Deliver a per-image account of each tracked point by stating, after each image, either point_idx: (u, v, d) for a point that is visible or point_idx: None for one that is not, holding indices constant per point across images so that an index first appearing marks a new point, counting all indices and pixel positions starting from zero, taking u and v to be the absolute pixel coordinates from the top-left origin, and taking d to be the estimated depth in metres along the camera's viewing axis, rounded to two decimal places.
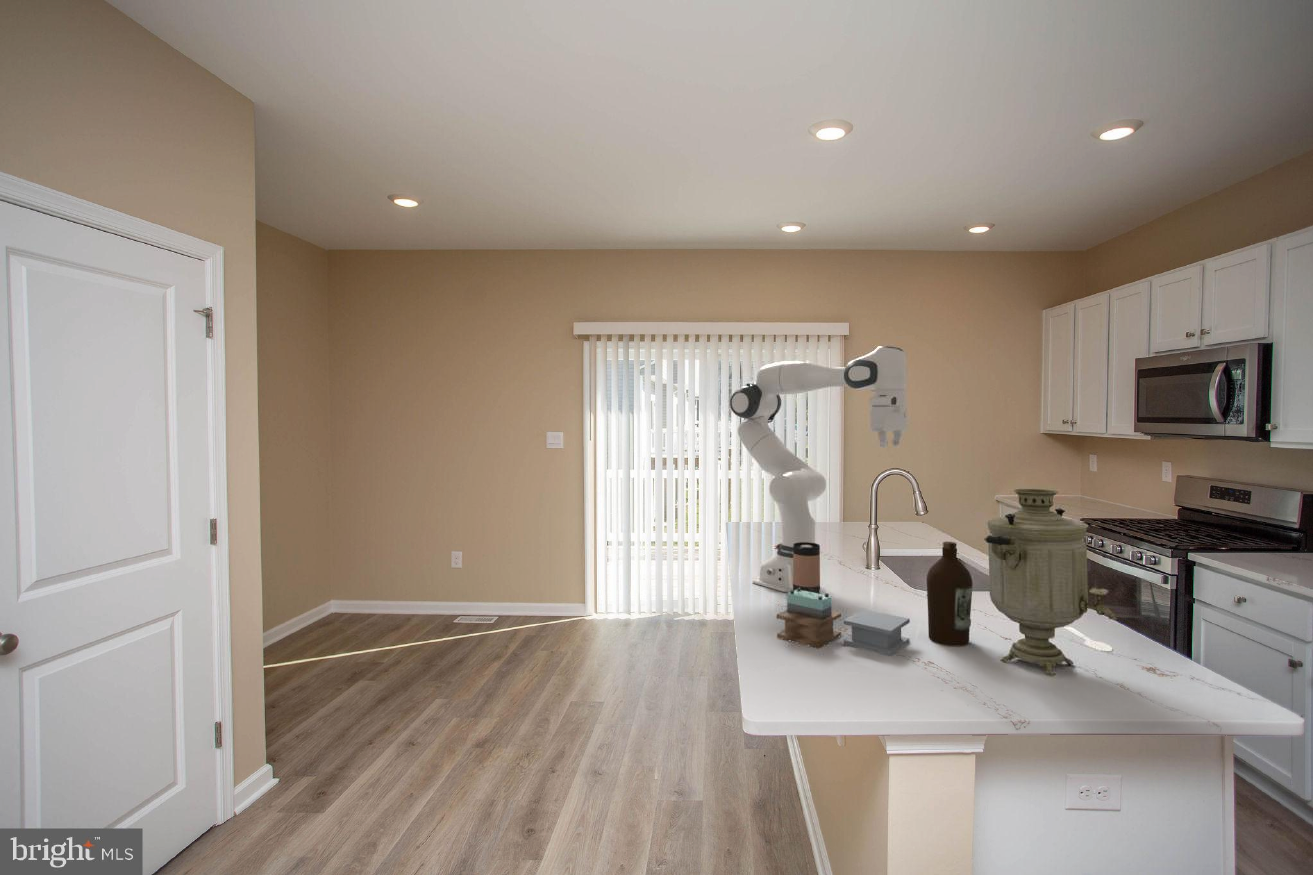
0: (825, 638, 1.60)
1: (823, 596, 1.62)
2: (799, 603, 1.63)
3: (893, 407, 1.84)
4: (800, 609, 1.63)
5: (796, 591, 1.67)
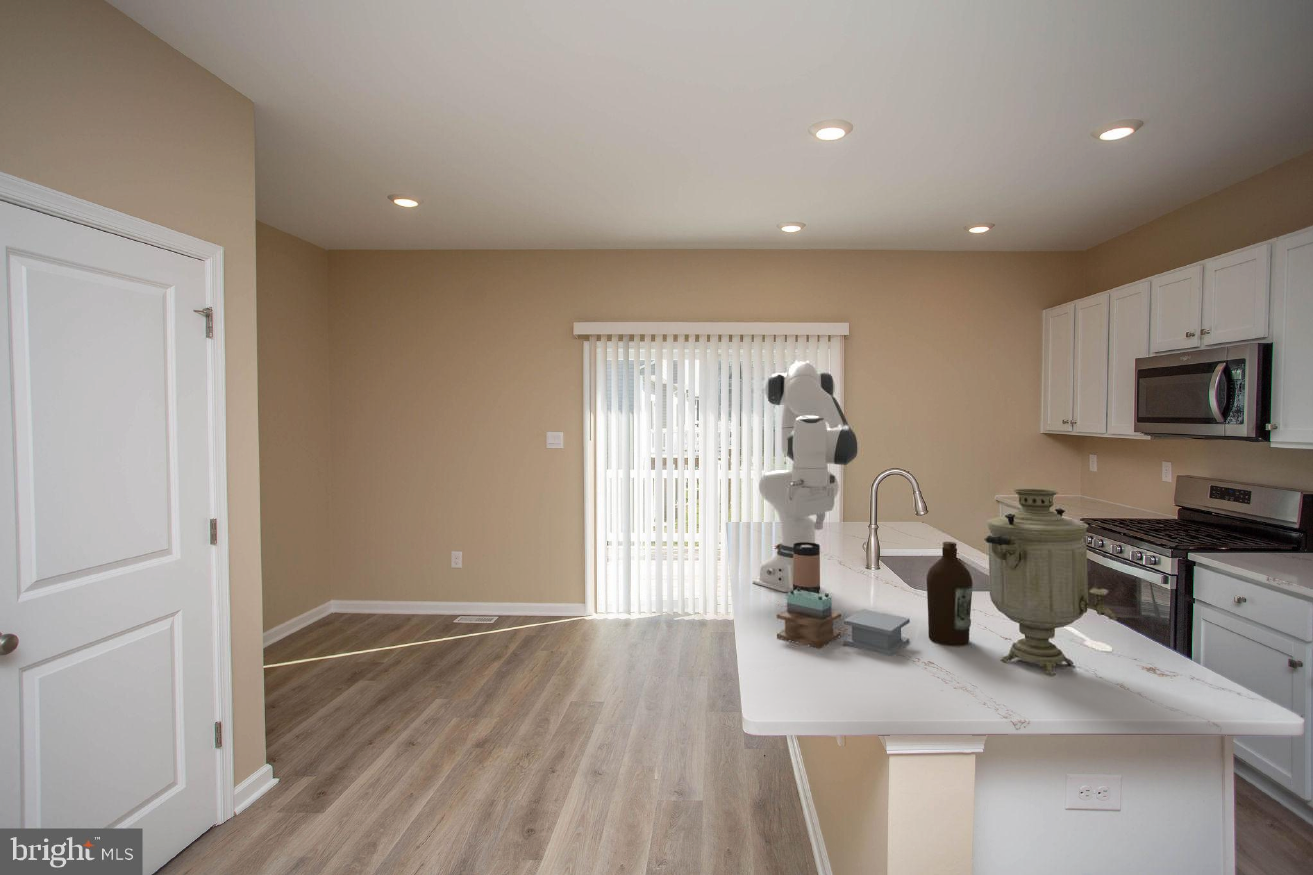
0: (825, 638, 1.60)
1: (823, 596, 1.62)
2: (799, 603, 1.63)
3: None
4: (800, 609, 1.63)
5: (796, 591, 1.67)
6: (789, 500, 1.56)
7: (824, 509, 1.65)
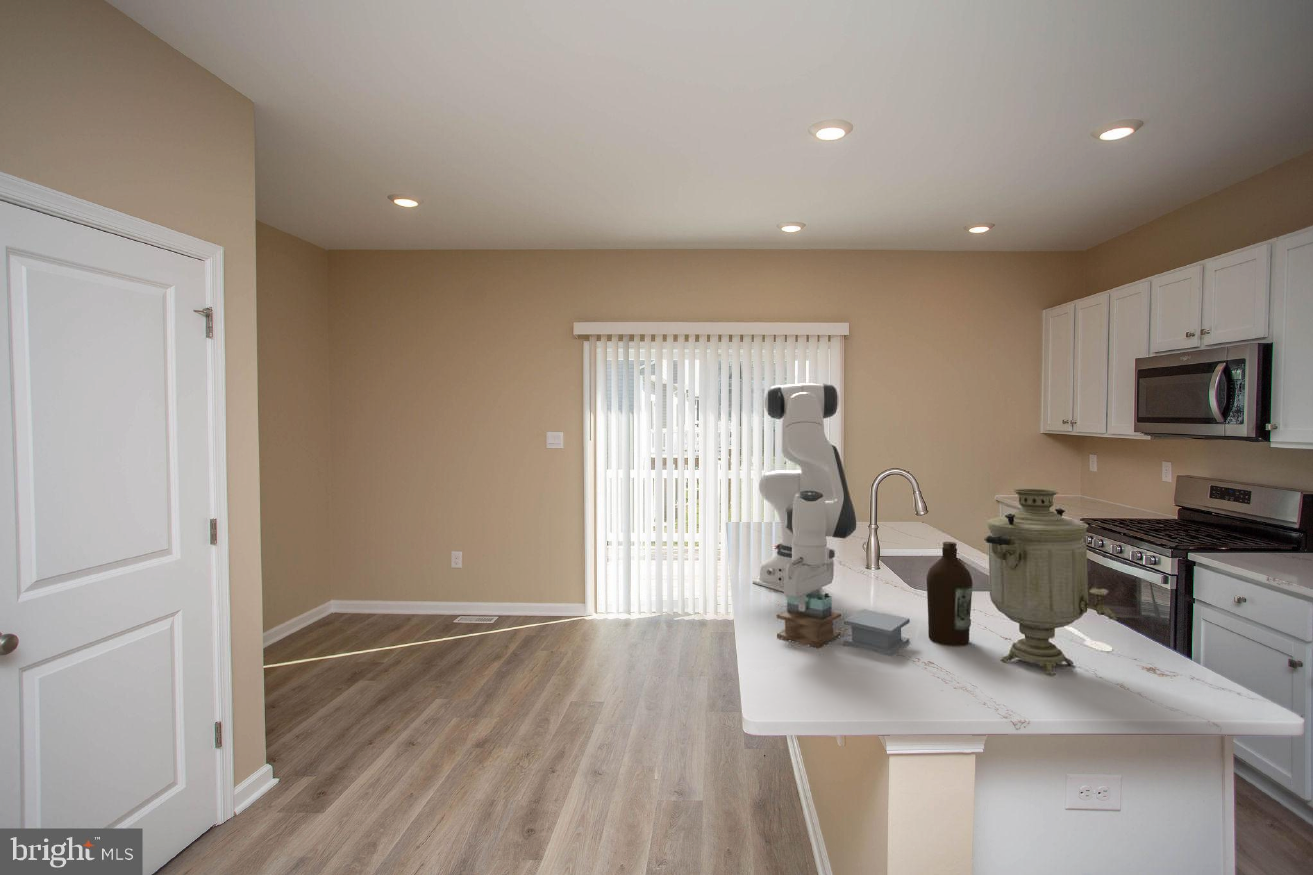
0: (825, 638, 1.60)
1: (823, 596, 1.62)
2: None
3: None
4: None
5: None
6: (788, 579, 1.56)
7: (823, 584, 1.66)
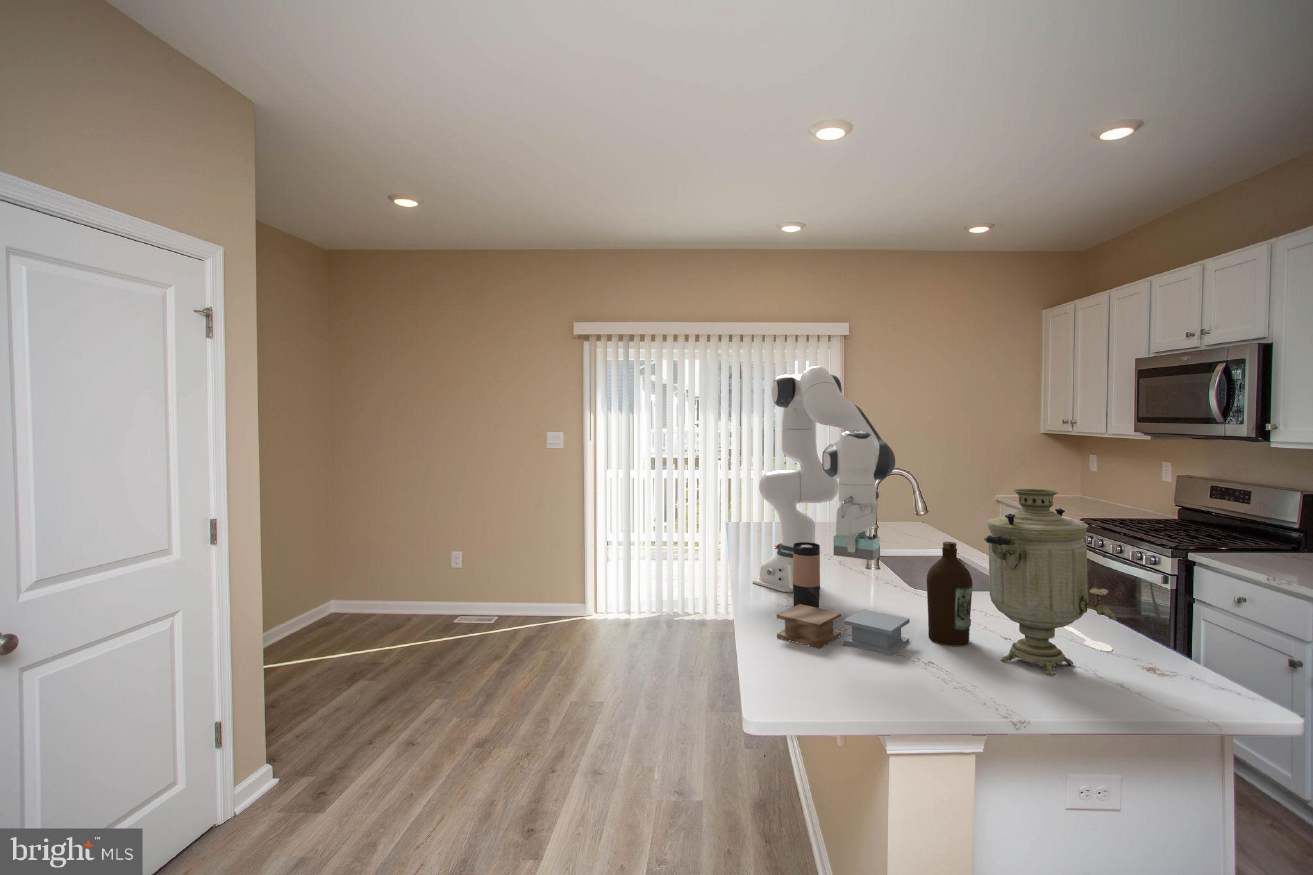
0: (825, 638, 1.60)
1: (871, 537, 1.58)
2: (847, 545, 1.58)
3: None
4: None
5: None
6: (841, 518, 1.52)
7: (869, 526, 1.62)
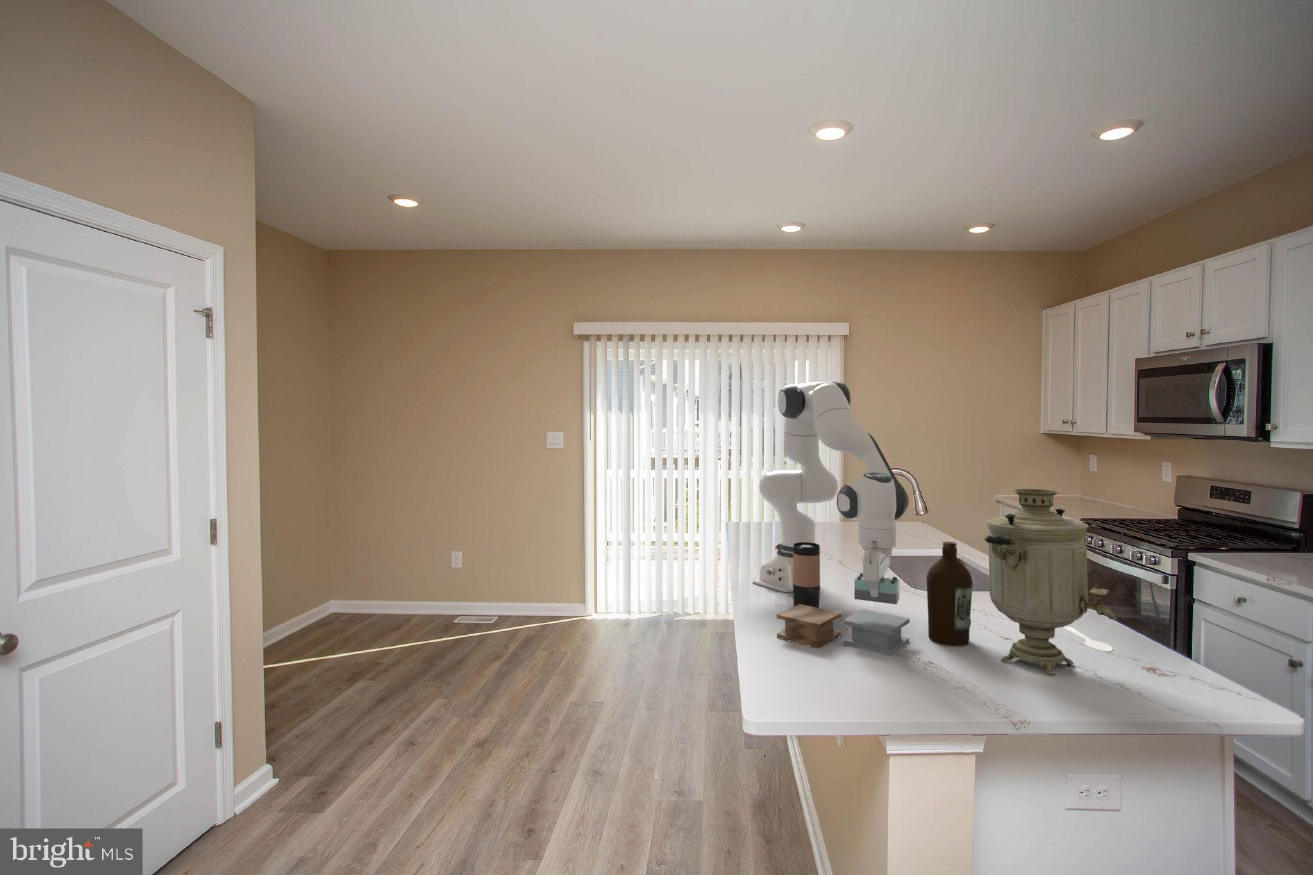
0: (825, 638, 1.60)
1: (892, 580, 1.58)
2: (869, 589, 1.57)
3: None
4: (870, 595, 1.57)
5: (861, 577, 1.61)
6: (868, 564, 1.50)
7: (887, 567, 1.62)
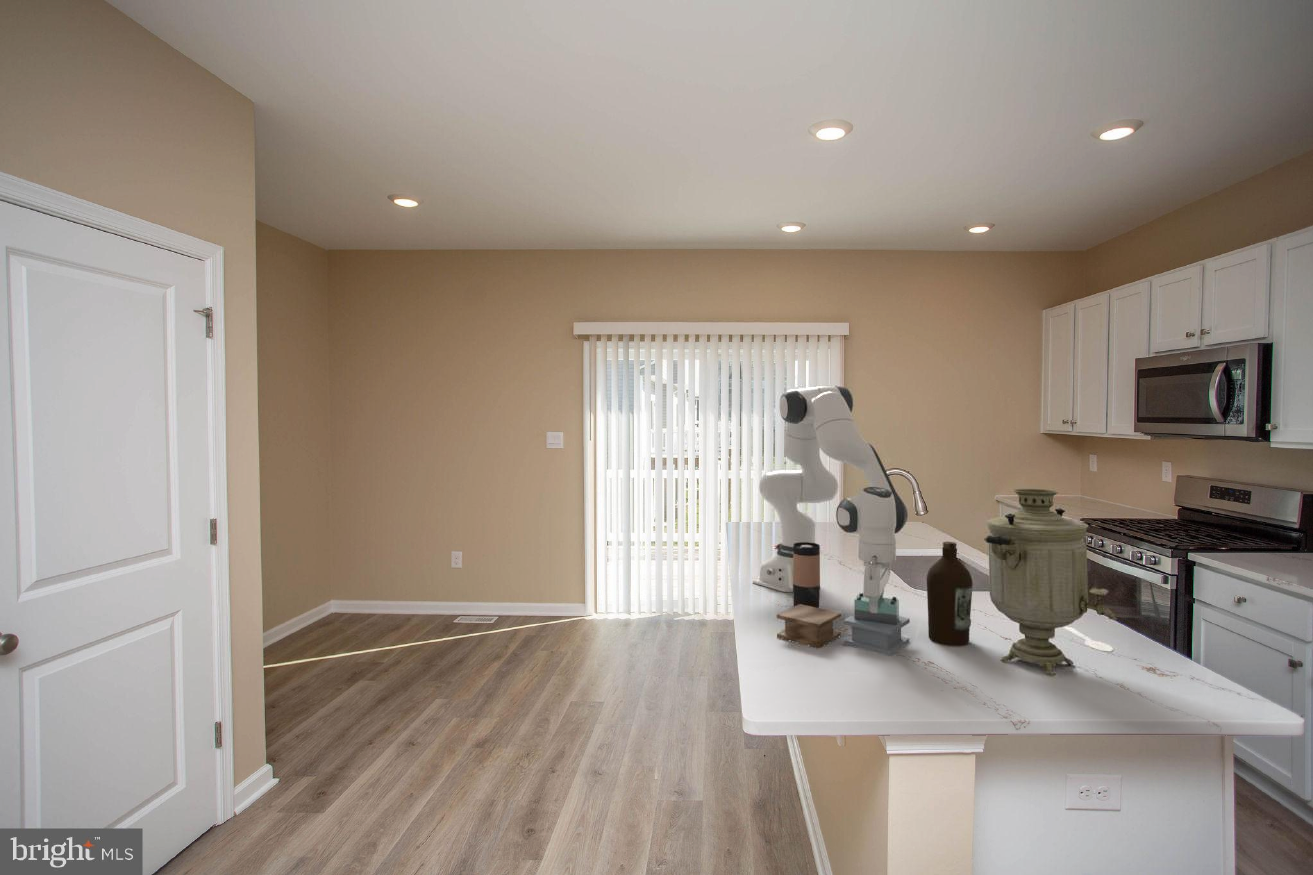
0: (825, 638, 1.60)
1: (892, 600, 1.58)
2: (869, 609, 1.58)
3: None
4: (870, 615, 1.57)
5: (860, 597, 1.61)
6: (869, 580, 1.50)
7: (886, 582, 1.62)
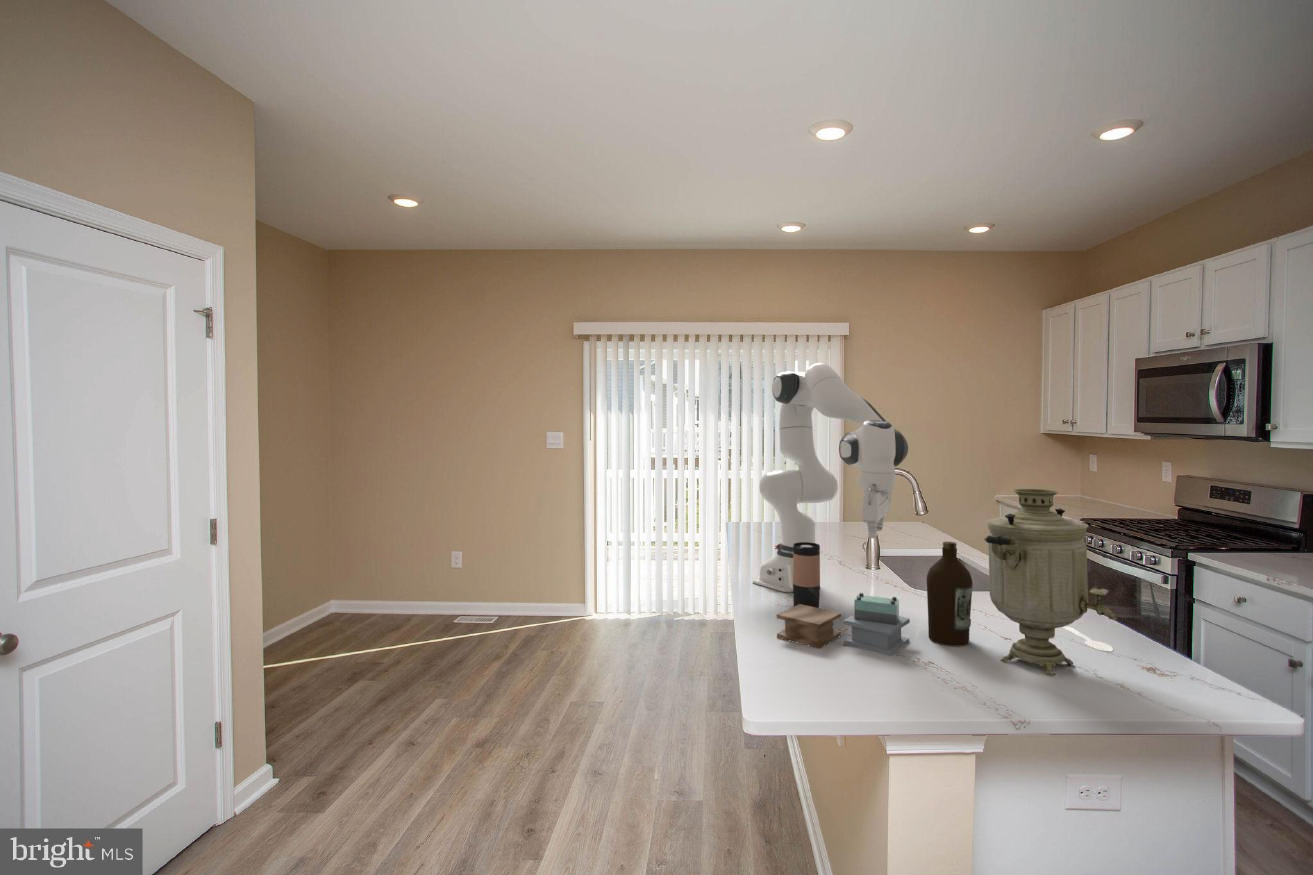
0: (825, 638, 1.60)
1: (892, 600, 1.58)
2: (869, 609, 1.58)
3: None
4: (870, 615, 1.57)
5: (860, 597, 1.61)
6: (868, 505, 1.59)
7: (886, 511, 1.70)
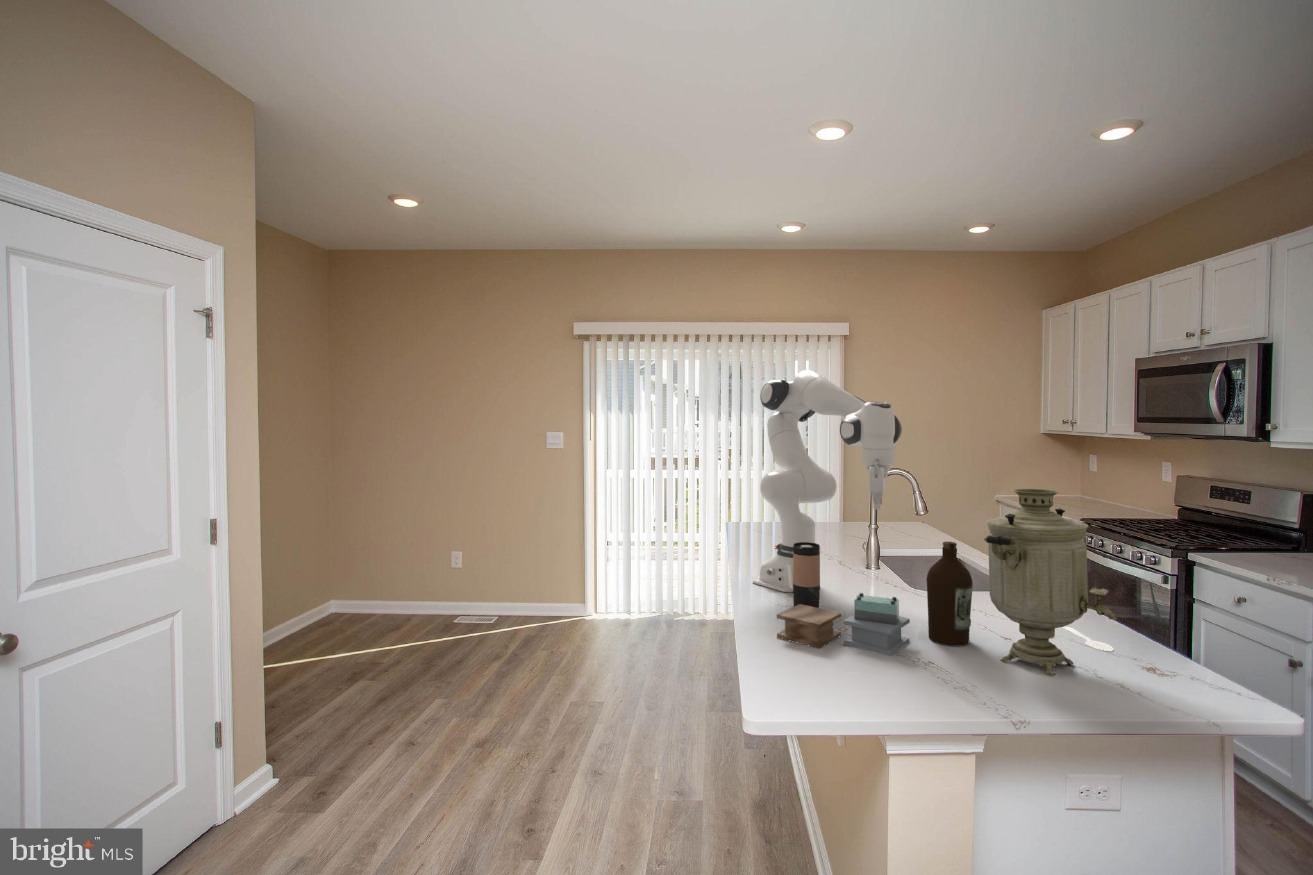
0: (825, 638, 1.60)
1: (892, 600, 1.58)
2: (869, 609, 1.58)
3: None
4: (870, 615, 1.57)
5: (860, 597, 1.61)
6: (874, 478, 1.71)
7: (885, 486, 1.84)
